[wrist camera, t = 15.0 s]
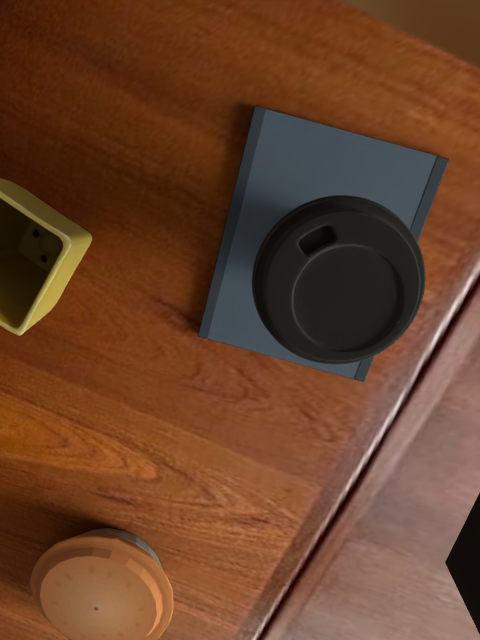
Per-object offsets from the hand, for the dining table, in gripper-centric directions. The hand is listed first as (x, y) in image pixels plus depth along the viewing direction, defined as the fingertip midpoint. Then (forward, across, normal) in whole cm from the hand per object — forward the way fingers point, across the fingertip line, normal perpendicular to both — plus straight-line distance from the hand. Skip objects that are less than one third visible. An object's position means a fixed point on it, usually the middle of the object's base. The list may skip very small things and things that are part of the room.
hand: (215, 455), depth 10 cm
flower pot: (+28, -18, -2) cm, 34 cm away
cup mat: (+28, +4, +3) cm, 28 cm away
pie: (+28, -7, -37) cm, 47 cm away
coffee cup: (+28, +5, +3) cm, 28 cm away
